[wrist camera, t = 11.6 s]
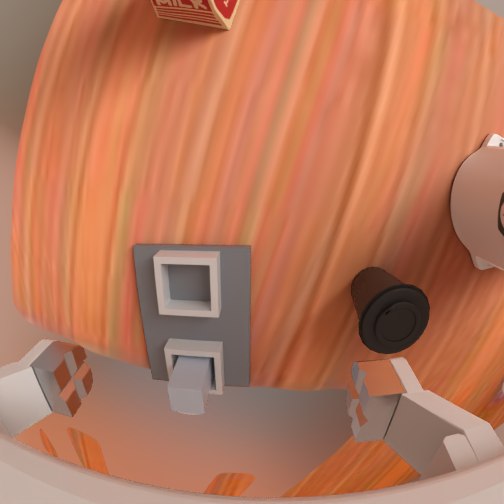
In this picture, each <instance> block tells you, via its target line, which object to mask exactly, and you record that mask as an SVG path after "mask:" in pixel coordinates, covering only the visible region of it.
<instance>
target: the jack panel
mask: <svg viewBox="0 0 504 504" xmlns="http://www.w3.org/2000/svg"><path fill="white" fill-rule="evenodd" d="M133 251H134V261H135V270H136V279H137V287H138V295H139V302H140V309H141V316H142V322H143V329H144V335H145V341H146V346H147V352H148V357H149V362H150V368H151V373H152V377H153V379H156V380H165V381H169V380H170V377H171V375H172V372H173V370H174V367H175V365H176V362H177V360H178V357H179V355H184V356H198V357H212V363H213V378H212V382H211V386H210V391H209V394H216V395H223V389H224V386H243V387H249V385H250V291H251V246H243V245H188V244H135V245H134V246H133Z"/></svg>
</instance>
